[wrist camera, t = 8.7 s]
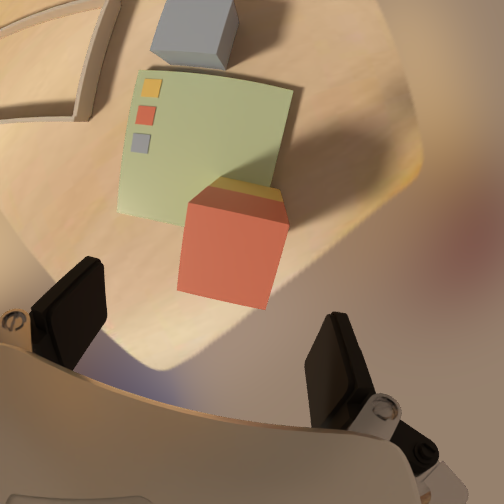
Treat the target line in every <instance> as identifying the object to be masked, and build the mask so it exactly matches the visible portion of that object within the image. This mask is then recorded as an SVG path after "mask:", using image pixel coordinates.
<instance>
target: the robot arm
mask: <svg viewBox="0 0 504 504" xmlns="http://www.w3.org/2000/svg"><path fill="white" fill-rule="evenodd" d="M31 310H32V311H31V312H30V313H29V314H28V313H27V312H26V311H25V310H22V309H12V310H9V311H7V312H5V313H4V314H3V315H2V316H1V317H0V504H466V502H467V500H468V489H467V488H466V486H465V485H464V484H463V483H462V482H461V480H460V479H459V478H458V477H457V476H456V475H455V474H454V473H453V471H452V470H451V469H450V468H449V467H448V466H447V465H446V464H445V462H444V461H442V462H439V461H438V458H439V451H438V448H437V446H436V445H435V443H433V442H432V441H431V440H430V439H428V438H427V437H425V436H424V435H422V434H421V433H419V432H418V431H416V430H415V429H413V428H412V427H410V426H409V425H407V424H406V423H404V422H403V421H401V420H400V418H401V414H402V412H401V407H400V405H399V403H398V402H397V401H396V400H395V399H394V398H392V397H391V396H389V395H387V394H382V393H379V394H376V392H375V389H374V386H373V383H372V380H371V377H370V374H369V372H368V368H367V365H366V363H365V360H364V357H363V354H362V351H361V350H360V348H359V346H358V342H357V340H356V337H355V334H354V332H353V329H352V326H351V323H350V321H349V318H348V316H347V314H346V313H340V312H332V313H331V314H328V315H327V316H326V318H325V320H324V322H323V324H322V327H321V329H320V331H319V333H318V335H317V337H316V339H315V341H314V344H313V346H312V348H311V350H310V352H309V354H308V356H307V358H306V360H305V375H306V383H307V391H308V400H309V408H310V417H311V426H312V428H309V427H296V426H286V425H276V424H267V423H259V422H252V421H245V420H239V419H233V418H227V417H222V416H216V415H212V414H206V413H202V412H198V411H193V410H189V409H185V408H181V407H177V406H173V405H169V404H165V403H162V402H158V401H154V400H151V399H148V398H144V397H141V396H138V395H135V394H132V393H129V392H126V391H123V390H120V389H117V388H114V387H112V386H109V385H106V384H104V383H101V382H98V381H96V380H93V379H91V378H88V377H86V376H83V375H81V374H79V373H76V372H74V371H73V369H74V368H75V366H76V365H77V363H78V362H79V360H80V358H81V357H82V355H83V354H84V352H85V351H86V349H87V348H88V346H89V345H90V343H91V342H92V340H93V339H94V338H95V336H96V335H97V333H98V332H99V330H100V329H101V327H102V326H103V325H104V323H105V322H106V319H107V306H106V294H105V279H104V265H103V264H102V263H101V261H100V259H98V258H94V257H90V256H87V257H85V258H84V259H83V260H82V261H81V262H79V263H78V264H77V265H76V266H75V267H74V268H73V269H71V270H70V271H69V272H68V273H67V274H66V275H65V276H64V277H63V278H61V279H60V280H59V281H58V282H57V283H56V284H55V285H54V286H53V287H52V288H51V289H50V290H49V291H47V293H45V294H44V295H43V296H42V297H41V298H40V299H39V300H38V301H37V302H36V303H35V304H34V305H33V306H32V307H31Z"/></svg>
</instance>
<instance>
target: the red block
mask: <svg viewBox="0 0 504 504" xmlns="http://www.w3.org/2000/svg"><path fill="white" fill-rule="evenodd" d="M289 226H290V224H289V220H288V217H287V213H286V210H285V206H284V202H280V201H276V200H272V199H267V198H263V197H259V196H254V195H250V194H245V193H241V192H236V191H231V190H227V189H222V188H217V187H212V186H207V187H206V188H205V189H204V190H202V191H201V192H200V193H199V194H198V195H196V196H195V197H194V198H193V199H192V200H191V201H189V202H188V207H187V214H186V220H185V227H184V234H183V242H182V250H181V258H180V266H179V275H178V284H177V290H178V291H182V292H186V293H190V294H194V295H199V296H203V297H207V298H212V299H216V300H220V301H225V302H229V303H234V304H239V305H243V306H248V307H253V308H258V309H263V310H265V309H266V305H267V302H268V299H269V296H270V292H271V289H272V286H273V282H274V279H275V275H276V272H277V268H278V265H279V261H280V258H281V254H282V251H283V247H284V244H285V240H286V237H287V233H288V229H289Z"/></svg>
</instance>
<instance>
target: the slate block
mask: <svg viewBox="0 0 504 504" xmlns="http://www.w3.org/2000/svg"><path fill="white" fill-rule="evenodd" d="M238 25H239V20H238V16H237V12H236V8H235V4H234V0H167V1H166V3H165V6H164V9H163V12H162V14H161V17H160V20H159V23H158V26H157V29H156V32H155V35H154V38H153V42H152V45H151V48H150V51H151V52H153V53H154V54H156V55H157V56H159V57H160V58H162V59H163V60H165V61H166V62H167V63H169V64H170V65H180V66H193V67H203V68H212V69H219V70H226V68H227V64H228V61H229V57H230V53H231V50H232V46H233V42H234V39H235V35H236V32H237V28H238Z"/></svg>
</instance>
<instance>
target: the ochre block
mask: <svg viewBox="0 0 504 504" xmlns="http://www.w3.org/2000/svg"><path fill="white" fill-rule="evenodd" d="M209 186H212V187H217V188H222V189H227V190H231V191H236V192H241V193H245V194H250V195H254V196H259V197H263V198H267V199H272V200H276V201H280V202H283V198H282V195H281V192H280V190H279V189H275V188H271V187H267V186H262V185H258V184H254V183H249V182H245V181H240V180H235V179H231V178H226V177H221V176H220V177H219V178H218V179H216V180H215V181H214V182H213V183H212V184H210V185H209Z"/></svg>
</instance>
